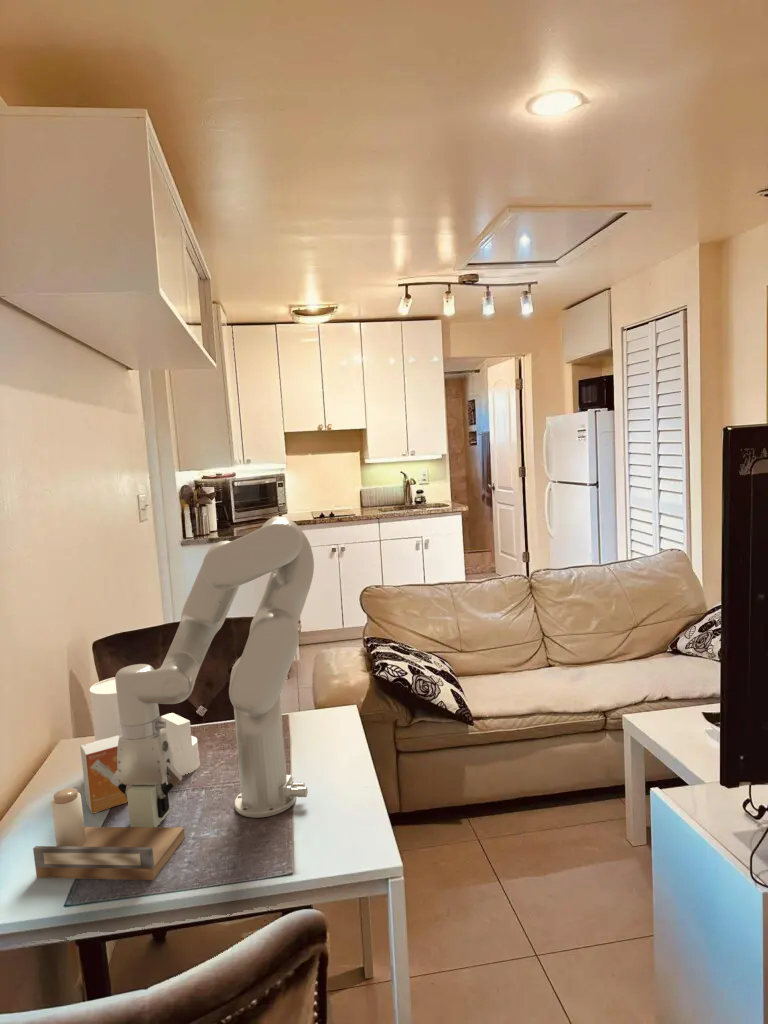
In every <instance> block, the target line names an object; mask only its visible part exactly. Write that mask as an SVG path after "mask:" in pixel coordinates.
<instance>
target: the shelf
mask: <svg viewBox="0 0 768 1024" xmlns="http://www.w3.org/2000/svg"><path fill="white" fill-rule="evenodd" d="M84 828H85V837H86V842H85V844H84V845H83V846H82V847H70V846H52V845H50V846H49V845H43V846H42V845H36V846H34V847H33V848H32V850H33V858H34V867H35V876H36V879H77V878H78V879H79V880H80V879H81V878H82V880H87V879H88V880H129V881H131V880H135V881H136V880H137V881H139V880H141V881H144V880H145V881H147V880H148V881H153V880H155V879H156V877H157V876H158V875H159V873H160V872H161V870H163V868H164V867H165V865H166V864H167V863H168V861H169V860H170V859H171V857H172V856H173V855H174V853H175V852H176V850H177V849H178V847H180V846H181V844H182V842H183V841H184V839H185V838H186V833H185V827H169V826H168V827H163V826H162V827H159V826H158V827H130V826H84ZM84 878H85V879H84ZM90 878H91V879H90ZM104 878H105V879H104Z"/></svg>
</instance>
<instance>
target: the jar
mask: <svg viewBox="0 0 768 1024" xmlns="http://www.w3.org/2000/svg"><path fill="white" fill-rule="evenodd" d="M50 804H51V811H52V812H51V813H52V821H53V827H54V838H55V845H56V846H70V847H82V846H83V845H84V844H85V842H86V837H85V828H84V827H85V821H84V820H85V819H84V811H83V804H82V796H81V793H80V792H78V789H77V788H76V787H67V788H63V789H61V790H59V791H56V792H55V793H54V795H53V799H52V800H51V802H50Z"/></svg>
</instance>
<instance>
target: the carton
mask: <svg viewBox="0 0 768 1024" xmlns="http://www.w3.org/2000/svg"><path fill="white" fill-rule="evenodd" d="M166 780H167V781H168V777H167V776H166ZM158 798H159V796H158V793H157V791H156V786H154V785H133V786H131V787H130V788H129V789H128V790H127V800H128V803H127V805H128V816H129V825H130V826H129V827H157V826H158V825H160V824H161V823H162V822H163V821H162V820H165V818H166V817H167V816H168V815H169V813H170V812H171V807H170V806H171V805H170V804H169V810H168V811H167V813H166V814H165V815H164V816H163V817H162V818H159V817H158V807H157V799H158ZM168 798H169V799H170V796H169V794H168ZM167 814H168V815H167ZM166 815H167V816H166ZM165 816H166V817H165ZM161 821H162V822H161ZM160 822H161V823H160ZM158 827H159V826H158Z"/></svg>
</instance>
